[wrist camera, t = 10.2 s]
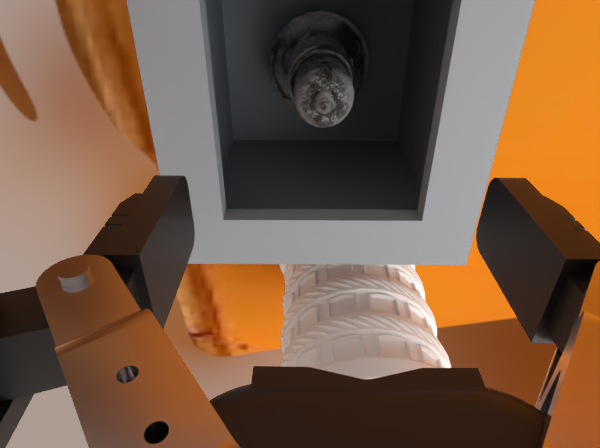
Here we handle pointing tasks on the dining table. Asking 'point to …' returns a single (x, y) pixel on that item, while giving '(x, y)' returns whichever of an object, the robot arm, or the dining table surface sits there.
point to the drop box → (330, 128)
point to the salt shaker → (319, 66)
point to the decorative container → (358, 320)
